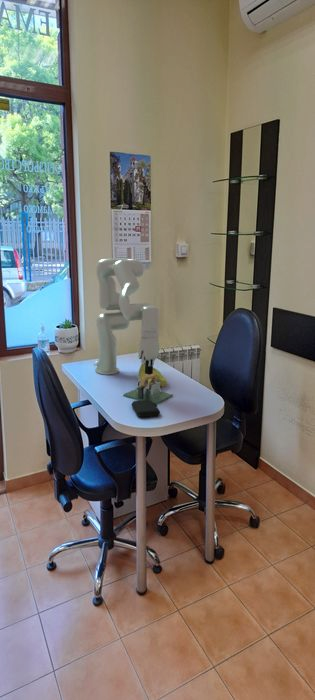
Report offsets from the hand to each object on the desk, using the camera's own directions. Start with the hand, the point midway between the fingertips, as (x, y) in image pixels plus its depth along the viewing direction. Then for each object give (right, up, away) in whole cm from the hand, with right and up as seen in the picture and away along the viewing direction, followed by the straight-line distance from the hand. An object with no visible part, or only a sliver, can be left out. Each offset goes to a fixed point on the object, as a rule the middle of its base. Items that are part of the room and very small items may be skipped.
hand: (148, 373), depth 202 cm
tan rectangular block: (0, -5, +1) cm, 6 cm away
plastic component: (+1, -6, +23) cm, 24 cm away
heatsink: (0, -10, +3) cm, 11 cm away
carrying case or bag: (-1, -15, -15) cm, 22 cm away
